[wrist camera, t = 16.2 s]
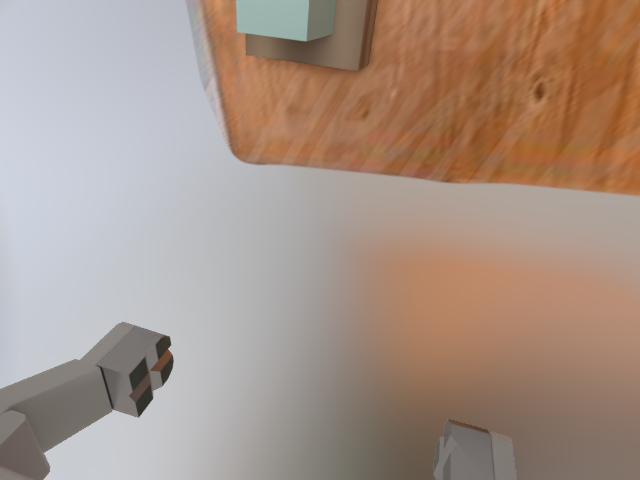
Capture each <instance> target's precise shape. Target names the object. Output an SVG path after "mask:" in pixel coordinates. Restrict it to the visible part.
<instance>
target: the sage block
mask: <svg viewBox="0 0 640 480" xmlns="http://www.w3.org/2000/svg"><path fill="white" fill-rule="evenodd" d="M335 4H336V0H236V13H237V32H241V33H248V34H255V35H263V36H270V37H277V38H285V39H292V40H299V41H310V40H313V39H317V38H321V37H324V36H328V35H331V34H333V25H334V14H335Z"/></svg>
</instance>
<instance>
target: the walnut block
mask: <svg viewBox="0 0 640 480" xmlns="http://www.w3.org/2000/svg"><path fill="white" fill-rule="evenodd" d="M377 1H378V0H336V4H335V14H334V25H333V34H331V35H328V36H324V37H321V38H317V39H313V40H310V41H299V40H292V39H285V38H277V37H270V36H263V35H255V34H248V33H246V55H251V56H258V57H265V58H272V59H278V60H285V61H292V62H299V63H306V64H312V65H319V66H326V67H333V68H340V69H346V70H353V71H359V70H360V69H362V68H363V67H364V66H366V65H367V64H368V63H369V56H370V49H371V42H372V35H373V28H374V21H375V14H376V7H377Z"/></svg>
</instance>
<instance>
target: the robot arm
mask: <svg viewBox="0 0 640 480" xmlns="http://www.w3.org/2000/svg"><path fill="white" fill-rule="evenodd" d="M170 346H171V341H170V337H169V336H166V335H163V334H160V333H157V332H154V331H150V330H147V329H144V328H141V327H138V326H135V325H132V324H129V323H125V322H122V323H119V324H117V325H116V326H115V327H114V328H113V329H112V330H111V331H110V332H109V333H108V334H107V335H106V336H105V337H104V338H103V339H101V340H100V341H99V342H98V343H97V344H96V345H95V346H94V347H93V348H92V349H91V350H90V351H89V352H88V353H87V354H86V355H85V356H84V357H83V358H82V359H81V360H76V359H75V360H72V361H69V362H67V363H65V364H62V365H59V366H57V367H54V368H52V369H49V370H47V371H44V372H42V373H39V374H37V375H34V376H32V377H29V378H27V379H24V380H22V381H20V382H17V383H14V384H12V385H9V386H7V387H4V388H2V389H0V480H43V479H44V478H45V477H46V476H47V474H48V473H49V472H50V465H49V463H48V461H47V459H46V457H45V455H44V452H46V451H48V450H49V449H51V448H53V447H54V446H56V445H57V444H59V443H61V442H62V441H64V440H66V439H67V438H69V437H71V436H72V435H74V434H76V433H77V432H79V431H81V430H82V429H84V428H86V427H87V426H89V425H91V424H92V423H94V422H95V421H97V420H99V419H100V418H102V417H104V416H105V415H107V414H109V413H110V412H112V409H113V410H116V411H119V412H123V413H126V414H129V415H132V416H135V417H140V415H141V414H142V413H143V411H144V410H145V409H146V407H147V406H148V405H149V403H150V402H151V401H152V400H153V391H154V390H156V389H158V388H160V387H162V386H163V385H164V383H165V382H166V381H167V379H168V378H169V375H170V373H171V371H172V368H173V362H174V361H173V355H172V354H171V352H170V351H169V350H168V348H169V347H170ZM433 474H434V476H435V478H436V480H517V475H516V467H515V460H514V452H513V446H512V441H511V439H510V437H508V436H505V435H501V434H498V433H495V432H491V431H488V430H486V429H482V428H479V427H476V426H472V425H468V424H465V423H461V422H458V421H454V420H450V419H449V420H448V421H447V422H446V424H445V427H444V436H442V437H440V439H439V441H438V444H437V447H436V452H435V457H434V468H433Z"/></svg>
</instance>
